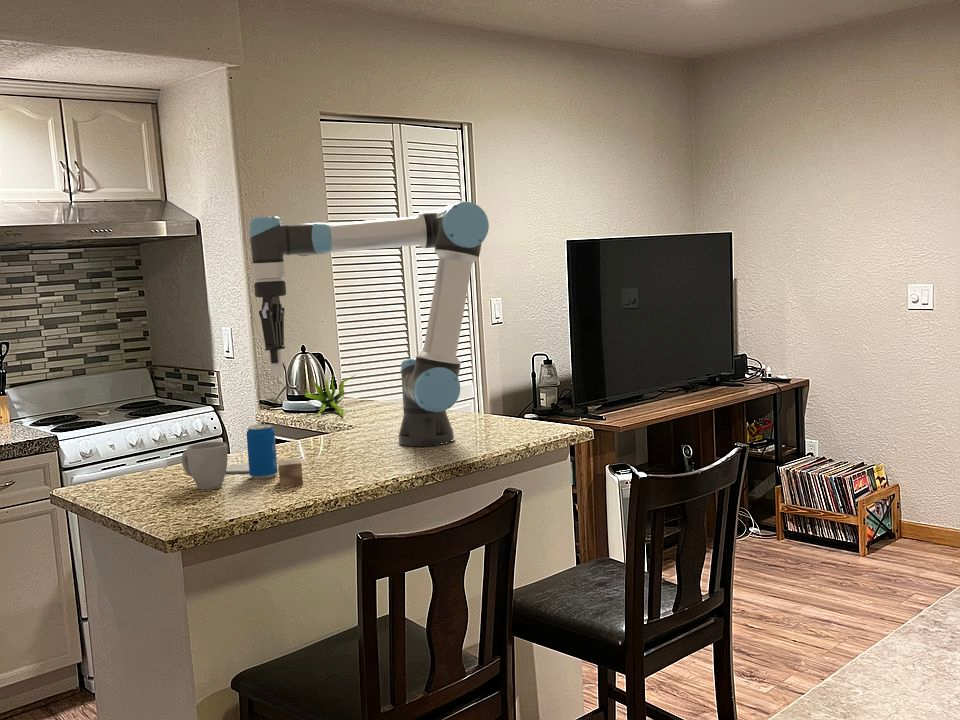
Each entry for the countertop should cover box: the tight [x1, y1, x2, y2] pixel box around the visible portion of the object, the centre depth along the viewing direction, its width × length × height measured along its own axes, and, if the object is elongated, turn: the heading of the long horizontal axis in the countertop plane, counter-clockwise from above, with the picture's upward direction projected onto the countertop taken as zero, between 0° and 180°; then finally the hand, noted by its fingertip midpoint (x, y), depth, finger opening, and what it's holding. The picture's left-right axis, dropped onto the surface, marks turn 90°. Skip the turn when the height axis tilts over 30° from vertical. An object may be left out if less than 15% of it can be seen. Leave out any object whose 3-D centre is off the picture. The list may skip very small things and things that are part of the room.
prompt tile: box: [225, 463, 250, 475], centre depth 226 cm, size 9×9×1 cm
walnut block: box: [277, 458, 304, 488], centre depth 209 cm, size 5×5×5 cm
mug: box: [181, 441, 228, 491], centre depth 209 cm, size 12×9×10 cm
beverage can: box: [246, 423, 278, 480], centre depth 217 cm, size 6×6×12 cm
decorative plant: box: [304, 373, 357, 418], centre depth 310 cm, size 18×30×15 cm, turn 170°
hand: (277, 376), depth 227 cm, fingers closed
